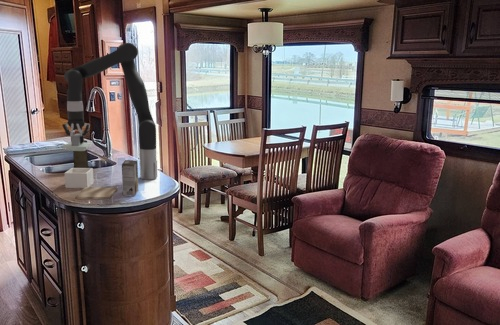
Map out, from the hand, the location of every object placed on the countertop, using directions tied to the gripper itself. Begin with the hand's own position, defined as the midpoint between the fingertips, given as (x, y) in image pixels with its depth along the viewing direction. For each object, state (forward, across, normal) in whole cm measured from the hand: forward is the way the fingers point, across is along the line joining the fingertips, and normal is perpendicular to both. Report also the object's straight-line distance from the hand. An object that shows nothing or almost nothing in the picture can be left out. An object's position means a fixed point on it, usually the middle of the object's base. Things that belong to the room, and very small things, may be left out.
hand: (77, 143), depth 217 cm
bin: (+23, 0, 0) cm, 23 cm away
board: (+23, -13, +15) cm, 30 cm away
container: (+23, +9, -31) cm, 40 cm away
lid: (+3, 0, 0) cm, 3 cm away
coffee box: (+23, -29, +13) cm, 39 cm away
